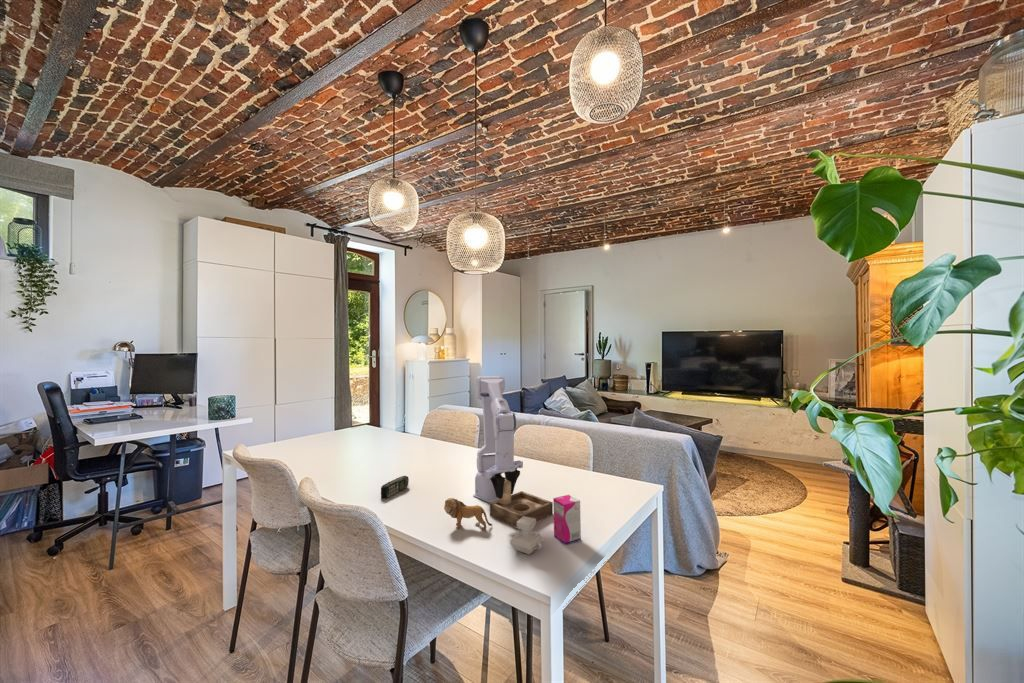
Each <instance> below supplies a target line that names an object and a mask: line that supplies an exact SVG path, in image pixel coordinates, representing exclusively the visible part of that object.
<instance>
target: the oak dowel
mask: <svg viewBox="0 0 1024 683" xmlns="http://www.w3.org/2000/svg"><path fill="white" fill-rule="evenodd" d="M511 495H512V494H511V481H510V480H506V479H505V481H504V486H503V497H502V498H501V499H500V498H498V500H497V501H498V502H499V503H502V504H507V503H510V502H511Z"/></svg>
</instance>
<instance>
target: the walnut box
mask: <svg viewBox="0 0 1024 683" xmlns="http://www.w3.org/2000/svg"><path fill="white" fill-rule="evenodd" d="M489 508H490V509H489V516H490V517H493V518H495V519H497V520H499V521H501V522H503V523H504V524H508V525H510V526H512V527H515V528H517V529H518V526H517V521H518V520H519V519H521V518H522V517H523V516H525V517H530V518H534V519H536V523H538V522H540V521H542V520H544V519H546V518H549V517H551V516H552V515H553V516H554V503H553V502H552V501H550V500H547V499H544V498H542V497H538V496H536V495H533V494H531V493H527V492H525V491H518V492H516V493H513V494H511V502H510V503H507V504H502V503H499V502H498V500H497V501H494V502H492V503H489ZM520 530H521V531H522V529H520Z"/></svg>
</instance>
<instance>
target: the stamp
mask: <svg viewBox="0 0 1024 683" xmlns="http://www.w3.org/2000/svg"><path fill="white" fill-rule="evenodd" d="M536 524H537V522H536V519H534V518H530V517H525V516H523V517H522V518H521V519H519V520H518V521H517V526H518V528H517V529H519V530H521V529H522V530H521V531H519V532H518V533H516V534H515V535H513V536H512V538H511V539H510V541H509V543H510V545H511V547H513V549H514V550H515V551H517V552H520V553H525V554H527V555H531V554H532V553H533V552H534V551H535V550H536V549H541V548H542V544H541V542H542V541H543V536H542V534H540V533H536V532H533V531H532V529H533V528H535V527H536Z"/></svg>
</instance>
